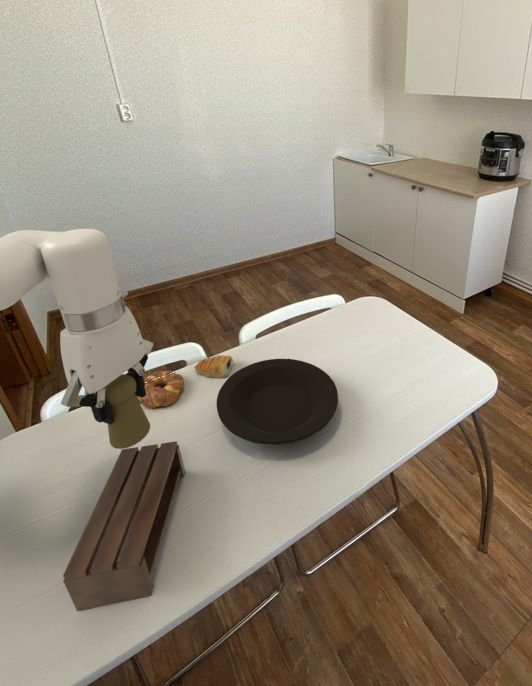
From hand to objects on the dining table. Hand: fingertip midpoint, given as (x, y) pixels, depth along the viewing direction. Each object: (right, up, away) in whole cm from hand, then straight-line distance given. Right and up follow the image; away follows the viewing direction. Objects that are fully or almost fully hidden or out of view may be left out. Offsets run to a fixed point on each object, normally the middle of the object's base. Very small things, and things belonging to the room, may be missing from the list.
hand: (122, 406), depth 63 cm
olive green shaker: (0, -6, +2) cm, 6 cm away
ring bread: (-10, -12, +32) cm, 35 cm away
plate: (+21, -14, +25) cm, 35 cm away
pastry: (+1, -9, +39) cm, 40 cm away
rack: (+2, -22, +2) cm, 22 cm away
